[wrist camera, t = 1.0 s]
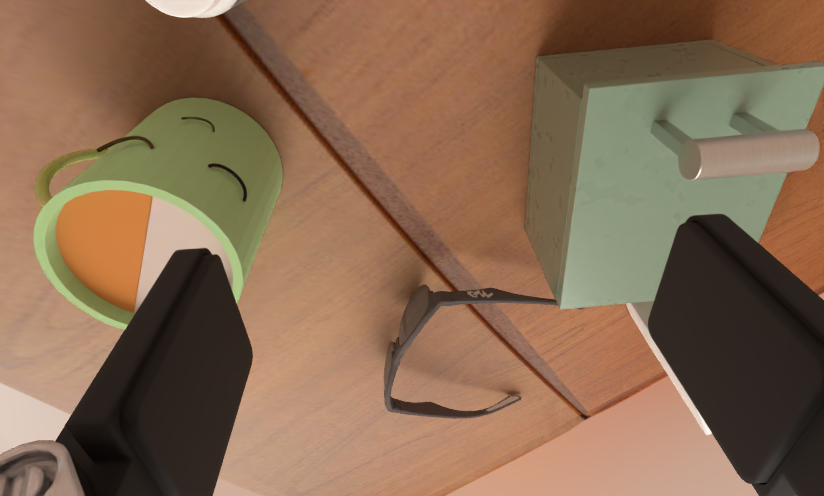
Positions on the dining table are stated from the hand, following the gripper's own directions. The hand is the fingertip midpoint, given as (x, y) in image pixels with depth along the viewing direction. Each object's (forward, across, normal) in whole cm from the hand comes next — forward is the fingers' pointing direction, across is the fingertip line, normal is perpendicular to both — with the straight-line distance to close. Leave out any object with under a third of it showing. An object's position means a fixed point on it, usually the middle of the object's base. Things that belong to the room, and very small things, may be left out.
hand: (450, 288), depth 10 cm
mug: (+25, +16, +7) cm, 30 cm away
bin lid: (+16, -14, +8) cm, 23 cm away
